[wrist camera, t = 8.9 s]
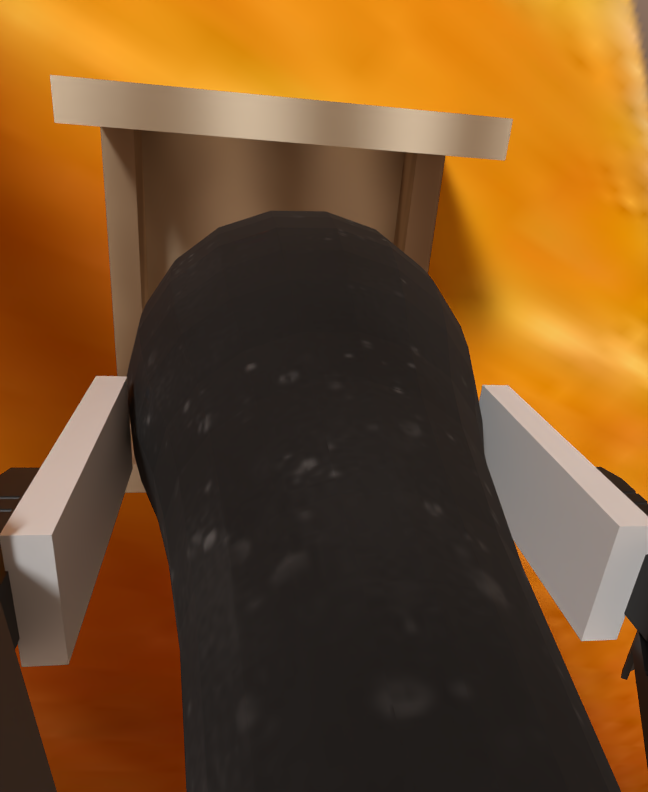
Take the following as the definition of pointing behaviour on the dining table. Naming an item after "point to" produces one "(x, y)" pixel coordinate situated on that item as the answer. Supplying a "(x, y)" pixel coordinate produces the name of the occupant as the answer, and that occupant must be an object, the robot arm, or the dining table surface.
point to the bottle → (339, 529)
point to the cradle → (255, 172)
